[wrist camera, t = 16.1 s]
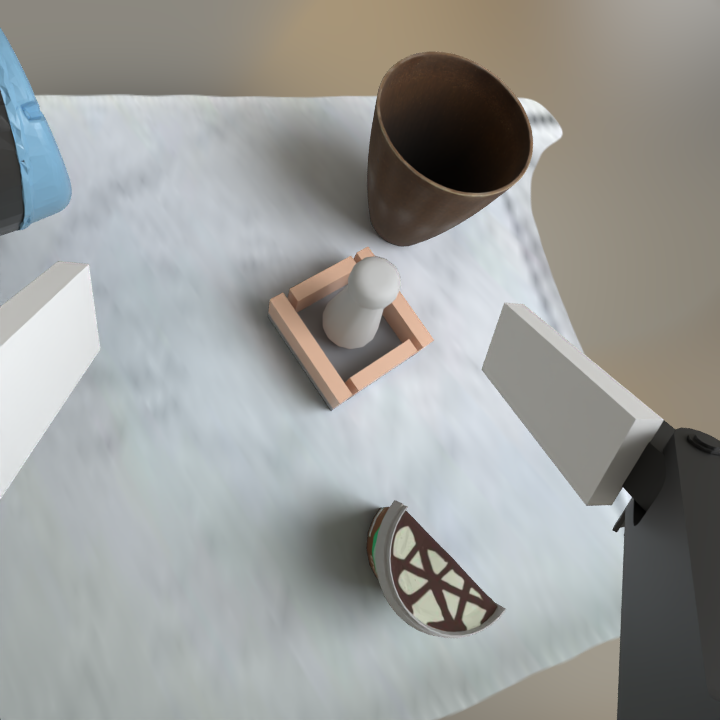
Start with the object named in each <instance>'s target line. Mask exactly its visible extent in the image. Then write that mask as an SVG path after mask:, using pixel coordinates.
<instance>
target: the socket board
mask: <svg viewBox="0 0 720 720" xmlns="http://www.w3.org/2000/svg"><path fill="white" fill-rule="evenodd" d="M373 256H374V254H373V253H372V251H371V250H370V249H369V247H366V248H364V249H363V250H361V251H359V252H357V253H356V255H355V257H354V259H353V258H352V257H351V256H350V257H348V258H346V259H344V260H342V261H340V262H339V263H337V264H335V265H333V266H331V267H329V268H327V269H326V270H324V271H322V272H320V273H318V274H316V275H314V276H313V277H311V278H309V279H307V280H305V281H303V282H301V283H300V284H298V285H296V286H294V287H292V288H290V289H289V294H288V299H287V298H286V296H285V295H284V293H281V294H279V295H277V296H276V297H274V298H272V299H270V302H269V310H268V318H269V319H270V321H271V322H272V324H273V325H274V327H275V328H276V330H277V331H278V333H279V334H280V336H281V337H282V339H283V340H284V342H285V343H286V344H287V346H288V347H289V349H290V350H291V352H292V353H293V355H294V356H295V358H296V359H297V361H298V362H299V364H300V365H301V367H302V368H303V370H304V371H305V373H306V374H307V376H308V377H309V379H310V380H311V382H312V383H313V385H314V386H315V388H316V389H317V391H318V392H319V394H320V395H321V397H322V398H323V400H324V401H325V403H326V404H327V406H328V407H329V409H330V410H331V411H332V410H333V409H335V408H336V407H338V406H339V405H341V404H342V403H344V402H345V401H346V400H348V399H349V398H351V397H352V396H354V395H355V394H357V393H358V392H360V391H361V390H363V389H364V388H366V387H367V386H369V385H370V384H372V383H373V382H375V381H376V380H378V379H379V378H381V377H382V376H384V375H385V374H387V373H388V372H390V371H391V370H392V369H394V368H395V367H397V366H398V365H400V364H401V363H403V362H404V361H406V360H407V359H409V358H410V357H412V356H413V355H415V354H416V353H418V352H419V351H420V350H422V349H423V348H424V347H426V346H427V345H428V344H430V343H431V342H432V341H434V339H433V338H432V336H431V335H430V334H429V332H428V331H427V329H426V328H425V327H424V325H423V324H422V322H421V321H420V319H419V318H418V317H417V315H416V314H415V312H414V311H413V310H412V308H411V307H410V305H409V304H408V302H407V301H406V300H405V298H404V297H403V295H402V294H401V293H400V291H399V293H398V295H397V297H396V299H395V300H394V301H393V302H392V303H391V304H389V305H388V306H387V307H385V308H384V309H383V313H382V316H381V320H380V324H379V327H378V330H377V332H376V334H375V336H374V338H373V339H372V340H371V341H370V342H369V343H367V344H366V345H365V346H363V347H360V348H354V349H347V348H343V347H339V346H337V345H336V344H335V343H334V342H332V341H331V340H330V339H329V338H328V337H327V335H326V333H325V331H324V329H323V312H324V310H325V308H326V306H327V304H328V302H329V301H330V300H332V299H333V298H334V297H335V296H336V295H337V294H338V293H339V292H341V291H342V290H343V289H344V288H345V287H346V286H347V285H348V277H349V275H350V273H351V271H352V269H353V267H354V265H355V264H356V263H358V262H359V261H361V260H362V259H364V258H365V257H373Z"/></svg>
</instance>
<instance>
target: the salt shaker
mask: <svg viewBox="0 0 720 720" xmlns="http://www.w3.org/2000/svg"><path fill="white" fill-rule="evenodd" d="M400 288H401V280H400V275H399V273H398V271H397V269H396V267H395V266H394V265H393V264H392V263H390V262H389V261H388V260H387V259H384V258H381V257H377V256H373V257H365V258H364V259H362V260H361V261H359V262H358V263H356V264H355V265H354V267H353V269H352V271H351V273H350V275H349V277H348V285H347V286H346V287H345V288H344V289H343V290H342V291H341V292H339V293H338V294H337V295H336V296H335V297H334V298H333V299H332V300H330V301H329V302H328V304H327V306H326V308H325V310H324V312H323V329H324V331H325V333H326V335H327V337H328V338H329V339H330V340H331V341H332V342H334V343H335V344H336V345H337V346H339V347H343V348H347V349H354V348H360V347H363V346H365V345H366V344H367V343H369V342H370V341H371V340H372V339H373V338H374V336H375V334H376V332H377V330H378V327H379V324H380V320H381V316H382V313H383V309H384V308H385V307H387V306H388V305H389V304H391V303H392V302H393V301H394V300H395V299H396V297H397V295H398V293H399V290H400Z"/></svg>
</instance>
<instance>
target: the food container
mask: <svg viewBox="0 0 720 720" xmlns="http://www.w3.org/2000/svg"><path fill="white" fill-rule="evenodd" d="M407 508H408V507H407V506H404V505H403V504H402V503H400V502H398V501H394V502H393V503H392V505H391V506H390V507H383V508H380V509H379V511H378V512H377V513H376V515H375V516H374V518H373V520H372V523H371V526H370V528H369V531H368V537H367V548H366V549H367V554H368V559H369V564H370V566H371V568H372V570H373V572H374V574H375V576H376V577H377V578H378V580H379V584H380V586H381V589H382V591H383V594H384V596H385V598H386V599H387V601H388V603H389V605H390V606H391V607H392V609H393V610H394V611H395V612H396V614H397V615H398V616H399V617H400V618H401V619H402V620H404V621H405V622H406V623H407V624H408V625H410V626H412V627H413V628H415V629H417V630H419V631H421V632H424V633H426V634H429V635H434V636H439V637H444V638H461V637H466V636H470V635H473V634H475V633H478V632H480V631H483V630H484V629H486V628H487V627H489V626H491V625H492V624H493V623H494V622H495V621H496V620H498V619H499V618H500V617H501V615H502V614H503V613H504V612H505V610H506V609H505V608H503V607H502V606H500V605H498V604H496V603H495V602H494V601H493V600H492V599H491V598H490V597H489V596H487V595H486V594H485V593H484V592H483V591H482V589H481V588H480V587H479V586H478V585H477V584H476V583H475V582H474V581H473V580H472V579H471V578H470V577H469V576H468V575H467V573H466V572H465V571H464V570H463V569H462V568H461V567H460V566H459V565H458V564H457V562H456V561H455V560H454V559H453V558H452V557H451V556H450V555H449V554H448V553H447V552H446V551H445V550H444V549H443V548H442V547H441V546H440V545H439V544H438V543H437V542H436V541H435V540H434V539H433V538H432V537H431V536H430V535H429V534H428V533H427V532H426V531H425V530H424V529H423V528H422V527H421V526H420V524H419V523H418V522H417V521H416V520H415V519H414V518H413V517H412V516H411V515H410V514H409V513H408V512H407V511H406V509H407Z"/></svg>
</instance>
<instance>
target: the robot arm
mask: <svg viewBox="0 0 720 720" xmlns="http://www.w3.org/2000/svg"><path fill="white" fill-rule="evenodd" d="M71 195H72V190H71V183H70V179H69V176H68V173H67V170H66V167H65V164H64V162H63V159H62V156H61V154H60V151H59V149H58V146H57V144H56V141H55V139H54V137H53V134H52V132H51V130H50V128H49V125H48V123H47V121H46V119H45V117H44V115H43V114H42V112H41V111H40V108H39V104H38V102H37V100H36V98H35V96H34V93H33V90H32V87H31V85H30V83H29V81H28V79H27V77H26V75H25V73H24V71H23V69H22V67H21V65H20V63H19V61H18V59H17V57H16V55H15V53H14V51H13V49H12V47H11V45H10V43H9V42H8V40H7V38H6V36H5V35H4V33H3V31H2V30H1V28H0V236H1V235H4V234H7V233H10V232H13V231H16V230H17V231H18V230H23V229H25V228H27V227H28V226H29V225H30V224H31V223H34V222H36V221H39V220H41V219H43V218H46V217H48V216H51V215H53V214H55V213H58V212H60V211H62V210H63V209H64V208H65V207H66V206H67V205H68V204H69V202H70V199H71ZM99 350H100V342H99V335H98V328H97V320H96V313H95V306H94V298H93V291H92V284H91V276H90V269H89V264H83V263H72V262H62V261H58V262H57V263H55V264H54V265H53V266H52V267H50V268H49V269H48V270H47V271H45V272H44V273H43V274H42V275H40V276H39V277H38V278H36V279H35V280H34V281H33V282H31V283H30V284H29V285H28V286H26V287H25V288H24V289H22V290H21V291H20V292H19V293H17V294H16V295H15V296H14V297H12V298H11V299H10V300H9V301H7V302H6V303H5V304H3V305H2V306H1V307H0V499H1V498H2V496H3V495H4V493H5V492H6V490H7V489H8V487H9V486H10V484H11V483H12V481H13V480H14V478H15V477H16V475H17V474H18V472H19V471H20V469H21V468H22V466H23V465H24V463H25V462H26V460H27V459H28V457H29V456H30V454H31V453H32V451H33V450H34V448H35V447H36V445H37V444H38V442H39V441H40V439H41V438H42V436H43V435H44V433H45V431H46V430H47V428H48V427H49V425H50V424H51V422H52V421H53V419H54V418H55V416H56V415H57V413H58V412H59V410H60V409H61V407H62V406H63V404H64V403H65V401H66V400H67V398H68V397H69V395H70V394H71V392H72V391H73V389H74V388H75V386H76V385H77V383H78V382H79V380H80V379H81V377H82V376H83V374H84V373H85V371H86V370H87V368H88V367H89V365H90V364H91V362H92V361H93V359H94V358H95V356H96V355H97V353H98V352H99ZM482 371H483V372H484V373H485V375H486V376H487V377H488V379H489V380H490V381H491V383H492V384H493V385H494V386H495V388H496V389H497V390H498V392H499V393H500V394H501V395H502V397H503V398H504V399H505V401H506V402H507V403H508V405H509V406H510V407H511V408H512V410H513V411H514V412H515V414H516V415H517V416H518V418H519V419H520V420H521V421H522V423H523V424H524V425H525V427H526V428H527V429H528V431H529V432H530V433H531V434H532V436H533V437H534V438H535V440H536V441H537V442H538V443H539V445H540V446H541V447H542V449H543V450H544V451H545V453H546V454H547V455H548V456H549V458H550V459H551V460H552V462H553V463H554V464H555V466H556V467H557V468H558V469H559V471H560V472H561V473H562V475H563V476H564V477H565V479H566V480H567V481H568V482H569V484H570V485H571V486H572V488H573V489H574V490H575V491H576V493H577V494H578V495H579V497H580V498H581V499H582V501H583V502H584V503H585V504H586V506H593V505H612V504H613V502H614V501H615V499H616V497H617V496H618V494H619V492H620V491H621V489H622V488H623V487H624V489H625V490H626V491H627V492H628V493H629V494H630V495H631V496H632V499H631V500H630V502H629V503H628V505H627V507H626V508H625V510H624V511H623V513H622V514H621V516H620V518H619V519H618V521H617V522H616V524H615V525H614V528H613V531H615V532H617V531H618V530H619V528H621V527H625V533H624V558H623V583H622V608H621V634H620V660H619V684H618V709H617V720H720V441H719V440H717V439H716V438H714V437H712V436H710V435H708V434H705V433H703V432H700V431H697V430H693V429H690V428H679V429H676V430H675V429H674V428H673V427H672V426H670V425H669V424H668V423H667V422H665V421H664V420H663V419H662V418H661V417H660V416H658V415H657V414H656V413H655V412H654V411H652V410H651V409H650V408H649V407H648V406H646V405H645V404H644V403H643V402H641V401H640V400H639V399H638V398H637V397H635V396H634V395H633V394H632V393H631V392H629V391H628V390H627V389H626V388H625V387H623V386H622V385H621V384H620V383H618V382H617V381H616V380H615V379H614V378H612V377H611V376H610V375H609V374H607V373H606V372H605V371H604V370H603V369H601V368H600V367H599V366H598V365H597V364H595V363H594V362H593V361H592V360H590V359H589V358H588V357H587V356H586V355H585V354H583V353H582V352H581V351H580V350H578V349H577V348H576V347H575V346H574V345H572V344H571V343H570V342H569V341H568V340H566V339H565V338H564V337H563V336H561V335H560V334H559V333H558V332H557V331H555V330H554V329H553V328H552V327H551V326H549V325H548V324H547V323H546V322H545V321H543V320H542V319H541V318H540V317H538V316H537V315H536V314H535V313H534V312H532V311H531V310H530V309H529V308H528V307H526V306H525V305H524V304H514V303H504V305H503V308H502V311H501V314H500V317H499V320H498V323H497V326H496V329H495V332H494V335H493V337H492V340H491V343H490V346H489V349H488V352H487V355H486V358H485V361H484V364H483V367H482ZM0 720H1V719H0Z"/></svg>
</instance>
